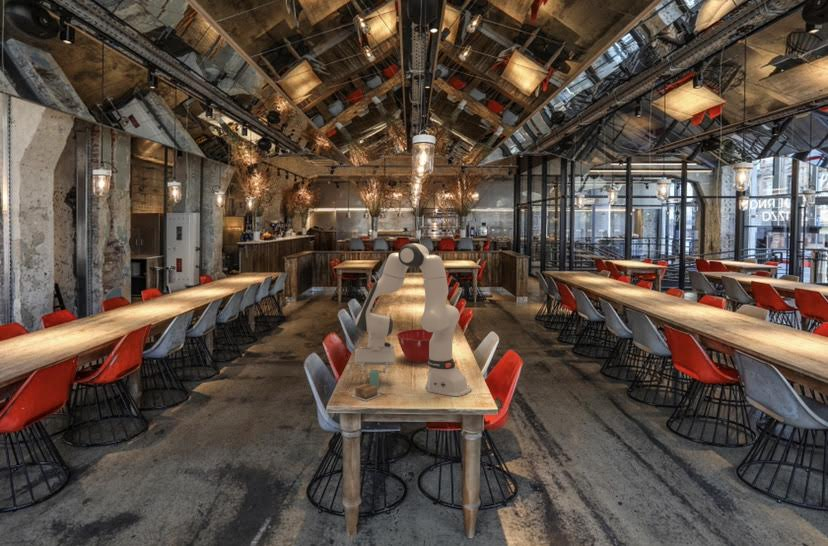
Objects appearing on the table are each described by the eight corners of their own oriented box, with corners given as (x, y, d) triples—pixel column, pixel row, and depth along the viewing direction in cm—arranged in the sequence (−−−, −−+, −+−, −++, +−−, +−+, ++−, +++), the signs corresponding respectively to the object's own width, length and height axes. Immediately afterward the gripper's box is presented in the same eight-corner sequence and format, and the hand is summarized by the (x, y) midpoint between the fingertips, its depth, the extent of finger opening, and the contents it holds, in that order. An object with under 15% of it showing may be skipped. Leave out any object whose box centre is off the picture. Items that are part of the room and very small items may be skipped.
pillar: (378, 386, 242) (378, 369, 241) (378, 388, 238) (377, 372, 237) (370, 386, 242) (370, 369, 241) (369, 388, 238) (369, 372, 237)
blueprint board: (385, 395, 228) (385, 394, 228) (365, 402, 219) (365, 401, 219) (366, 389, 236) (366, 389, 236) (347, 396, 227) (347, 395, 227)
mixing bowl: (396, 367, 274) (396, 339, 272) (397, 353, 302) (397, 328, 301) (447, 366, 274) (448, 339, 273) (444, 353, 303) (444, 328, 301)
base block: (377, 395, 228) (377, 386, 228) (366, 399, 223) (366, 390, 222) (366, 391, 233) (366, 383, 232) (355, 395, 227) (355, 387, 227)
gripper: (354, 343, 248) (352, 368, 239) (395, 344, 248) (394, 369, 239) (356, 350, 253) (353, 375, 244) (396, 350, 252) (395, 375, 244)
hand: (374, 372), depth 241 cm, fingers open, 8 cm apart
